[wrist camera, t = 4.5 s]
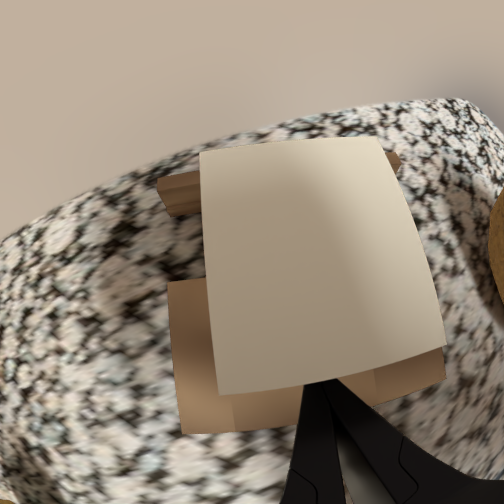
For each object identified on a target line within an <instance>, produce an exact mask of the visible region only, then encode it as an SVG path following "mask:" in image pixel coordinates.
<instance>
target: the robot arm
mask: <svg viewBox="0 0 504 504" xmlns="http://www.w3.org/2000/svg"><path fill="white" fill-rule="evenodd" d="M342 475H343V478H344V480H345V483H346V486H347V488H348V491H349V493H350V496H351V499H352V501H353V504H504V480H486V479H478V478H474V477H471V476H468V475H466V474H464V473H462V472H460V471H458V470H456V469H455V468H453V467H451V466H449V465H447V464H446V463H444V462H442V461H440V460H439V459H437V458H435V457H434V456H432V455H430V454H429V453H427V452H426V451H424V450H423V449H421V448H420V447H419V446H417V445H416V444H415V443H413V442H412V441H411V440H410V439H408V438H407V437H406V436H403V434H402V433H401V432H400V431H398V430H397V429H396V428H395V427H394V426H392V425H391V424H390V423H389V422H388V421H386V420H385V419H384V418H383V417H382V416H380V415H379V414H378V413H377V412H376V411H374V410H373V409H372V408H371V407H370V406H369V405H367V404H366V403H365V402H364V401H363V400H362V399H360V398H359V397H358V396H357V395H356V394H355V393H353V392H352V391H351V390H350V389H349V388H348V387H347V386H345V385H344V384H343V383H342V382H341V381H340V380H339V379H337V378H334V379H329V380H325V381H320V382H315V383H310V384H304V385H303V392H302V399H301V405H300V411H299V418H298V424H297V429H296V435H295V441H294V446H293V451H292V456H291V461H290V466H289V471H288V475H287V480H286V484H285V488H284V491H283V495H282V498H281V500H280V503H279V504H346V499H345V492H344V485H343V479H342Z"/></svg>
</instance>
